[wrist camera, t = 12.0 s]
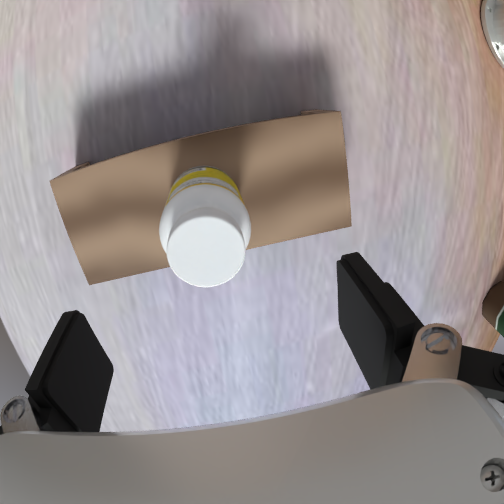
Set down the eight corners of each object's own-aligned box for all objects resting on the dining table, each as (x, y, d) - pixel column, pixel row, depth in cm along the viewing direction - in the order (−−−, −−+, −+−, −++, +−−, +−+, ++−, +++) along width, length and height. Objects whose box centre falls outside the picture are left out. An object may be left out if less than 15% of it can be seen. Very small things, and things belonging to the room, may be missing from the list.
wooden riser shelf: (75, 166, 27) (49, 181, 22) (316, 109, 28) (340, 111, 23) (105, 255, 32) (89, 285, 26) (328, 205, 33) (351, 226, 27)
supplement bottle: (222, 240, 26) (233, 311, 18) (160, 217, 25) (137, 280, 16) (250, 180, 24) (277, 225, 16) (185, 153, 23) (171, 184, 14)
